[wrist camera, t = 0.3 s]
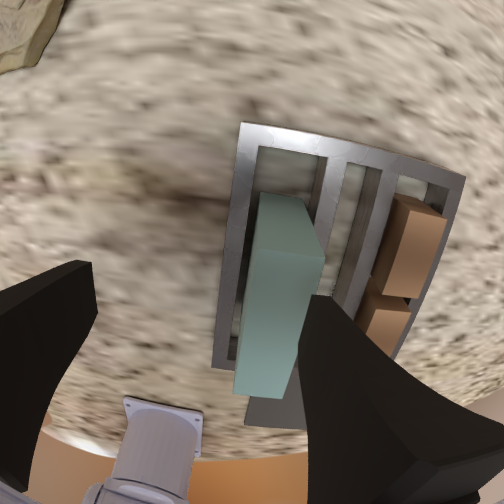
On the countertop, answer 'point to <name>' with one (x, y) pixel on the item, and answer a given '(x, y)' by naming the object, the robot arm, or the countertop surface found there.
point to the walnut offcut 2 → (381, 317)
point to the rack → (330, 216)
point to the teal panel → (276, 295)
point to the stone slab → (26, 31)
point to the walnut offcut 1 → (407, 247)
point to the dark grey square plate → (278, 409)
